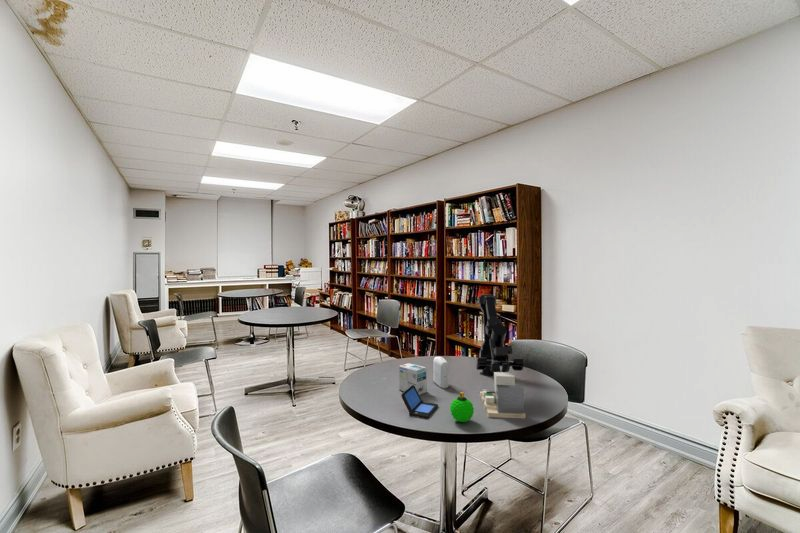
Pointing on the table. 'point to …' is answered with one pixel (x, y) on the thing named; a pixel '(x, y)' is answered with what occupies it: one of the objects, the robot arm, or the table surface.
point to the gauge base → (491, 407)
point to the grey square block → (510, 398)
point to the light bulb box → (413, 377)
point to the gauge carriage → (502, 380)
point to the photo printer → (441, 372)
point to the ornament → (462, 408)
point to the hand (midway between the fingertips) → (502, 383)
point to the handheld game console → (417, 404)
